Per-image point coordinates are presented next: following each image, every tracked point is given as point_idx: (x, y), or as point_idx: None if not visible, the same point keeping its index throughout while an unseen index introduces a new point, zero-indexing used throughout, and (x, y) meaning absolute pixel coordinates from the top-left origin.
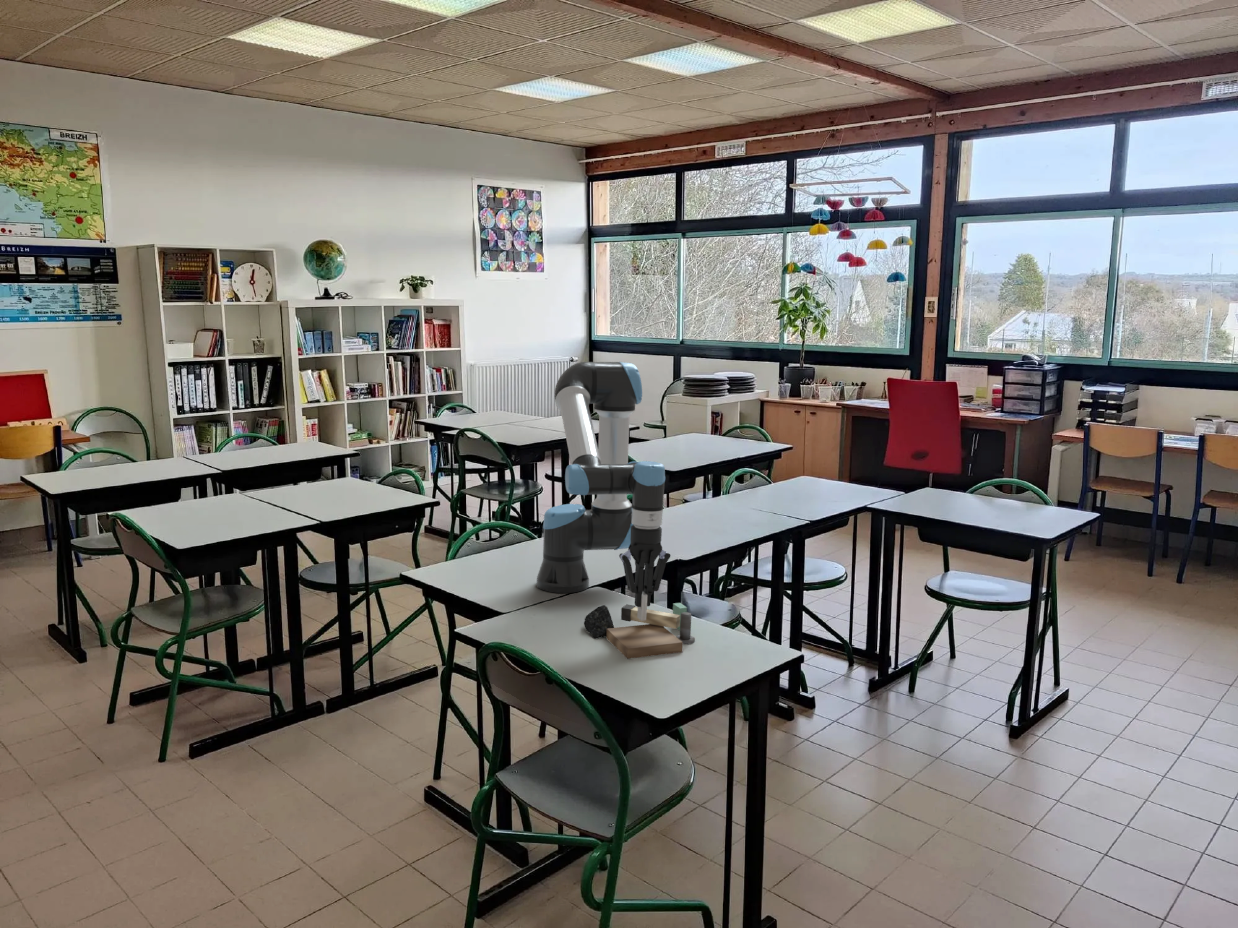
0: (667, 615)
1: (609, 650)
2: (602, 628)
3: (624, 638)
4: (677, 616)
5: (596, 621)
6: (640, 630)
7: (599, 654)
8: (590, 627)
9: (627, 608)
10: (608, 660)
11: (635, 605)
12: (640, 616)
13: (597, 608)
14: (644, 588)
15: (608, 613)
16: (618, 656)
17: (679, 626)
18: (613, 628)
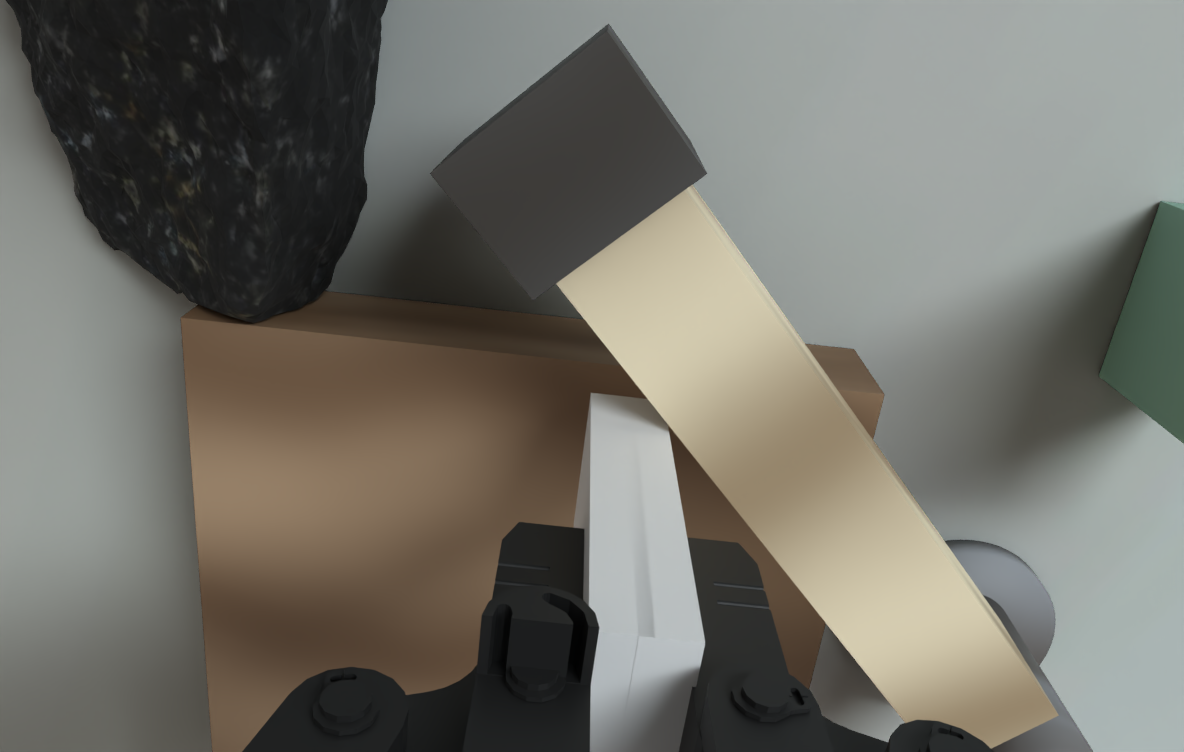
0: (899, 673)
1: (162, 561)
2: (161, 230)
3: (278, 636)
4: (989, 740)
5: (95, 71)
6: (542, 516)
7: (46, 603)
8: (41, 79)
9: (509, 248)
10: (90, 726)
11: (517, 532)
12: (576, 520)
13: None
14: (706, 749)
15: (245, 87)
16: (198, 692)
17: (1127, 392)
18: (266, 344)
